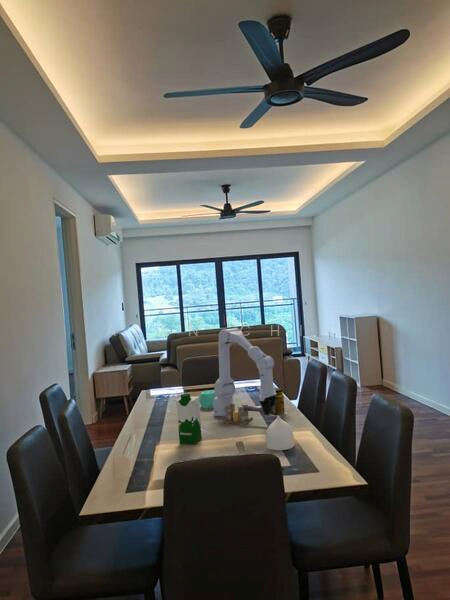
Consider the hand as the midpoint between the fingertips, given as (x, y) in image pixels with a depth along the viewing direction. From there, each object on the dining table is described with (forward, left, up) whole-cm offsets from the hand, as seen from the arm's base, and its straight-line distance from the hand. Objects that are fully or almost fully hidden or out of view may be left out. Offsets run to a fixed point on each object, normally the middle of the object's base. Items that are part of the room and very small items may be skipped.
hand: (268, 413), depth 198 cm
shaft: (-5, 0, 0) cm, 5 cm away
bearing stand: (-16, 0, -5) cm, 17 cm away
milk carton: (-22, -31, -5) cm, 39 cm away
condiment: (-3, +17, -5) cm, 18 cm away
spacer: (-16, 0, -5) cm, 17 cm away
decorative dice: (-44, +21, -5) cm, 49 cm away
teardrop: (+15, -24, -5) cm, 29 cm away
